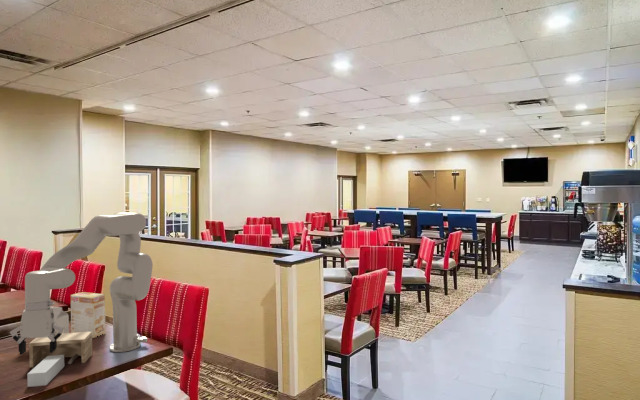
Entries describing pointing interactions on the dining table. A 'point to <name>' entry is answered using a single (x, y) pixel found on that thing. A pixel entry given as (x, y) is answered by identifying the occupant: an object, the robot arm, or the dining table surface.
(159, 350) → the dining table surface
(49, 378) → the white rectangular block
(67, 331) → the milk carton
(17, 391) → the dining table surface
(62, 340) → the beige wooden bench
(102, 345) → the dining table surface
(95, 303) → the coffeecake box
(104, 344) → the dining table surface
